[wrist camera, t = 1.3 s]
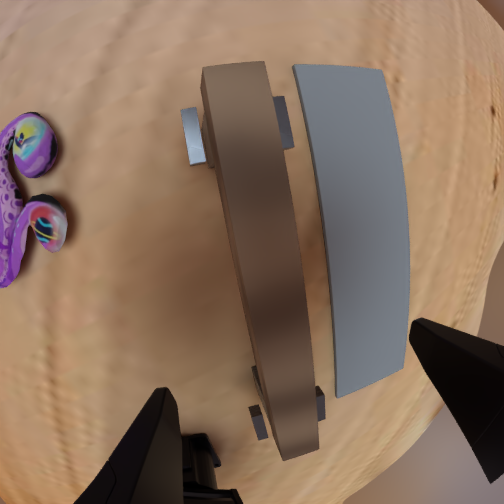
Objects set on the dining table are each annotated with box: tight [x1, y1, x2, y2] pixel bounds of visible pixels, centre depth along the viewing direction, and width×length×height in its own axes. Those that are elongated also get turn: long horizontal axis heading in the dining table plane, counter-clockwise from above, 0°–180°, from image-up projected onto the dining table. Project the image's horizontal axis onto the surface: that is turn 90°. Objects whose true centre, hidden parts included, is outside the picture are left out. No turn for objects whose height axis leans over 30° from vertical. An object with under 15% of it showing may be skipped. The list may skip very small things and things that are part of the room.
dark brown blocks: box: [248, 366, 325, 440], centre depth 22 cm, size 3×6×6 cm, turn 100°
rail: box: [200, 61, 319, 461], centre depth 16 cm, size 26×3×3 cm, turn 10°
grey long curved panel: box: [292, 64, 410, 399], centre depth 24 cm, size 32×9×1 cm, turn 10°
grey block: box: [181, 96, 294, 168], centre depth 17 cm, size 3×6×6 cm, turn 100°
